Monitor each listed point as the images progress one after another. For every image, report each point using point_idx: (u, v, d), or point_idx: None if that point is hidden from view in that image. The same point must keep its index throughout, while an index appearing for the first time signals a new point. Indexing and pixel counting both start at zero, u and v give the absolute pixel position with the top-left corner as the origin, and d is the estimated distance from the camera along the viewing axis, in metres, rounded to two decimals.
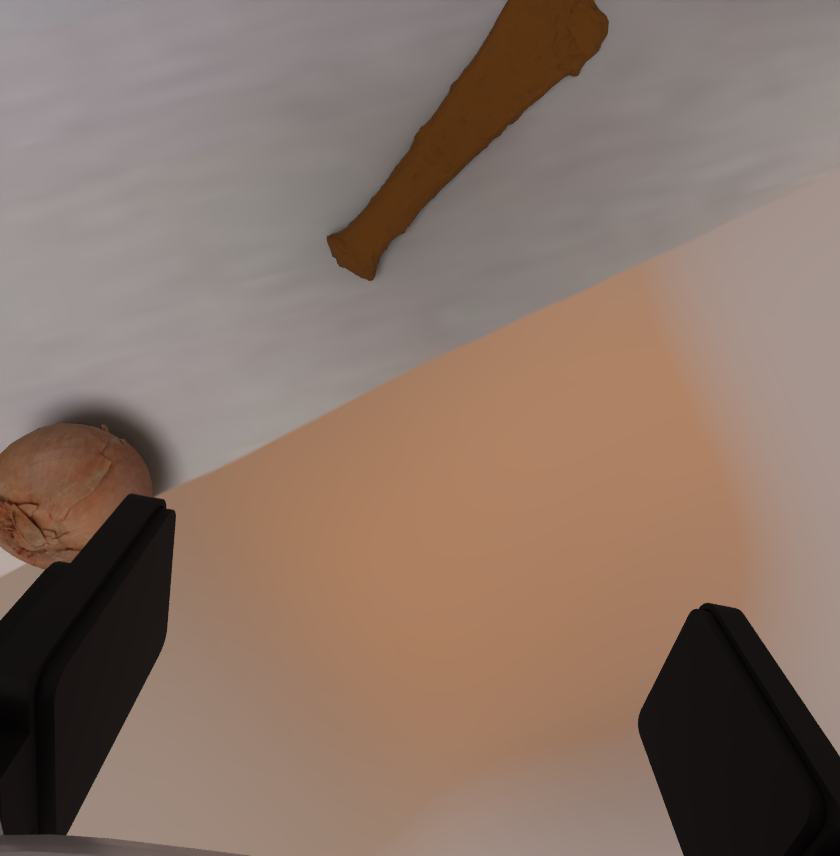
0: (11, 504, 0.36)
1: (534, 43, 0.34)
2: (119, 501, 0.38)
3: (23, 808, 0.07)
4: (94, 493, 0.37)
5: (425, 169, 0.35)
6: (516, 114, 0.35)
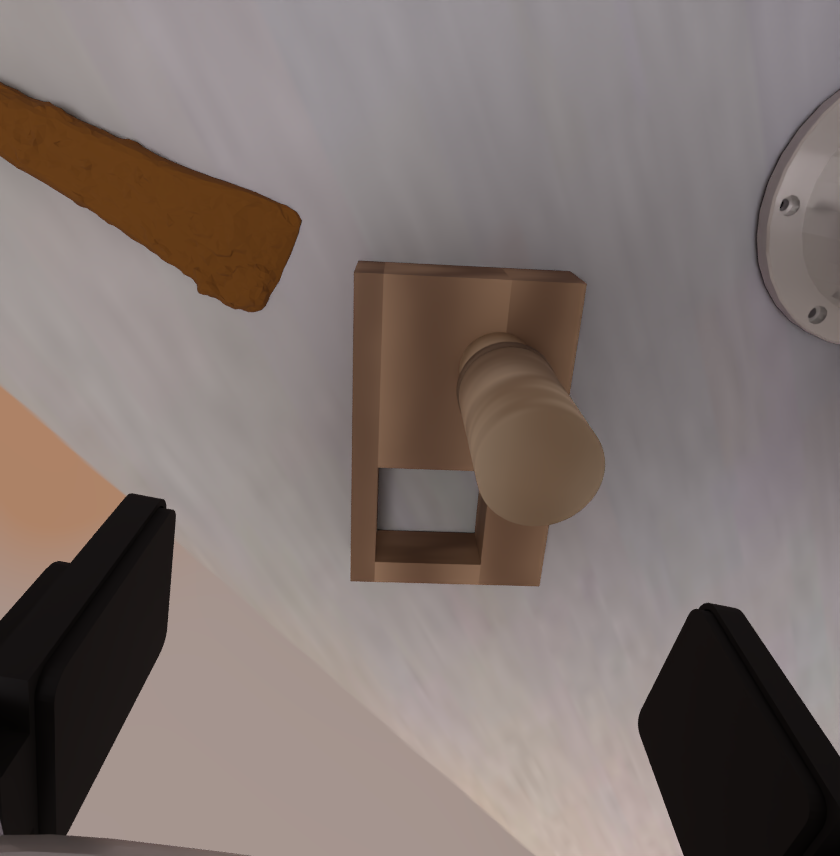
0: None
1: (206, 234, 0.28)
2: None
3: (23, 808, 0.07)
4: None
5: (4, 126, 0.26)
6: (128, 234, 0.28)
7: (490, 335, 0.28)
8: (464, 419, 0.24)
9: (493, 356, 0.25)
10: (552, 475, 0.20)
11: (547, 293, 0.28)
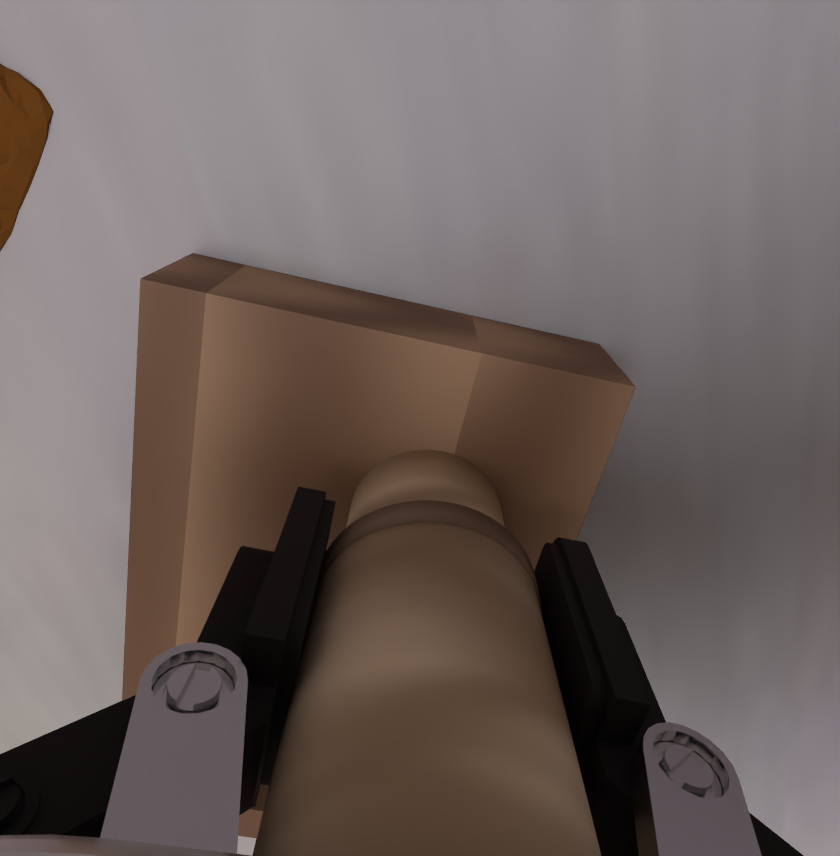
0: None
1: None
2: None
3: (263, 751, 0.09)
4: None
5: None
6: None
7: (419, 457, 0.13)
8: None
9: (397, 547, 0.10)
10: None
11: (550, 392, 0.13)
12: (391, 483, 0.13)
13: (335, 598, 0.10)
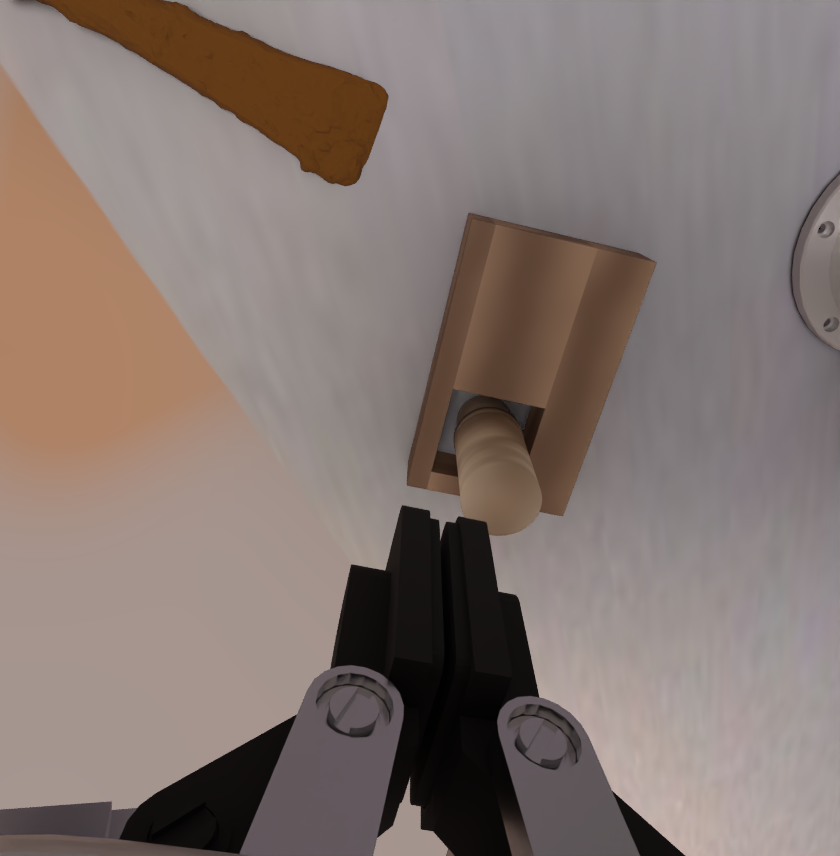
0: None
1: (309, 112, 0.33)
2: None
3: None
4: None
5: (142, 24, 0.30)
6: (242, 117, 0.33)
7: (483, 397, 0.40)
8: (457, 457, 0.35)
9: (483, 417, 0.36)
10: (508, 505, 0.32)
11: (623, 265, 0.34)
12: (475, 405, 0.39)
13: (467, 429, 0.36)
